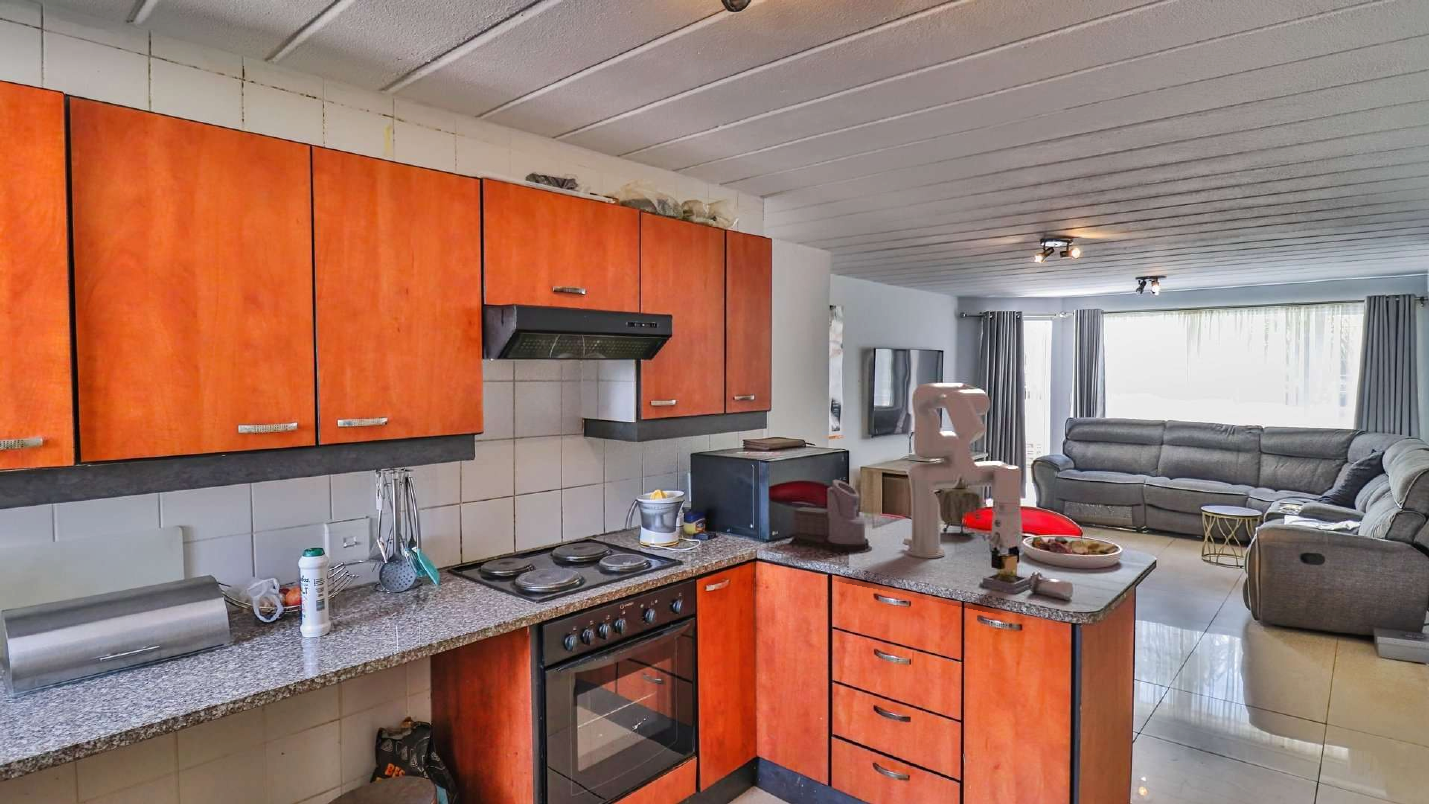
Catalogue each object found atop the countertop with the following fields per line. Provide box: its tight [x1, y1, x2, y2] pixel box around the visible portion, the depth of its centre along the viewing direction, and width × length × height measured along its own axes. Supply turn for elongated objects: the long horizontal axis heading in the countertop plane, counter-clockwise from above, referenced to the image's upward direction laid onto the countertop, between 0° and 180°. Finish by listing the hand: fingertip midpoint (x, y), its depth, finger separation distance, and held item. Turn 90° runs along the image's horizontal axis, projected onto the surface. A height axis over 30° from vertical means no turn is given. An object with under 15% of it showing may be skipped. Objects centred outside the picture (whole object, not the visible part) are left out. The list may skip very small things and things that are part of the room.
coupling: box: [995, 552, 1018, 583], centre depth 217 cm, size 6×6×8 cm
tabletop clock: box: [939, 476, 983, 536], centre depth 287 cm, size 14×9×25 cm, turn 85°
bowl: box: [1022, 534, 1123, 569], centre depth 248 cm, size 30×30×8 cm
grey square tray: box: [979, 572, 1030, 595], centre depth 217 cm, size 11×11×2 cm
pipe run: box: [1029, 571, 1074, 601], centre depth 207 cm, size 10×6×6 cm, turn 40°
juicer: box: [787, 479, 873, 555], centre depth 270 cm, size 30×16×24 cm, turn 57°
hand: (1005, 565), depth 217 cm, fingers open, 9 cm apart
